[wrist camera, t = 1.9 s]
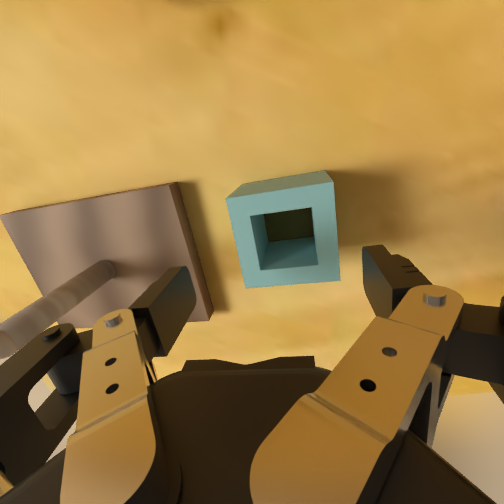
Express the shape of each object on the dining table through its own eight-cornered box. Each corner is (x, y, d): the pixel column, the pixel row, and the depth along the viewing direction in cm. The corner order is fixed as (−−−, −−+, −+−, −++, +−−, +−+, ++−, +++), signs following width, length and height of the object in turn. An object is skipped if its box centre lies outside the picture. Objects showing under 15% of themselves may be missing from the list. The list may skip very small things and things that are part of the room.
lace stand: (177, 181, 21) (56, 228, 10) (213, 310, 25) (154, 434, 15) (15, 210, 24) (-197, 268, 14) (72, 319, 28) (-56, 424, 18)
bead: (324, 170, 19) (333, 181, 14) (331, 248, 21) (340, 280, 16) (242, 184, 20) (225, 198, 15) (256, 256, 22) (245, 288, 18)
